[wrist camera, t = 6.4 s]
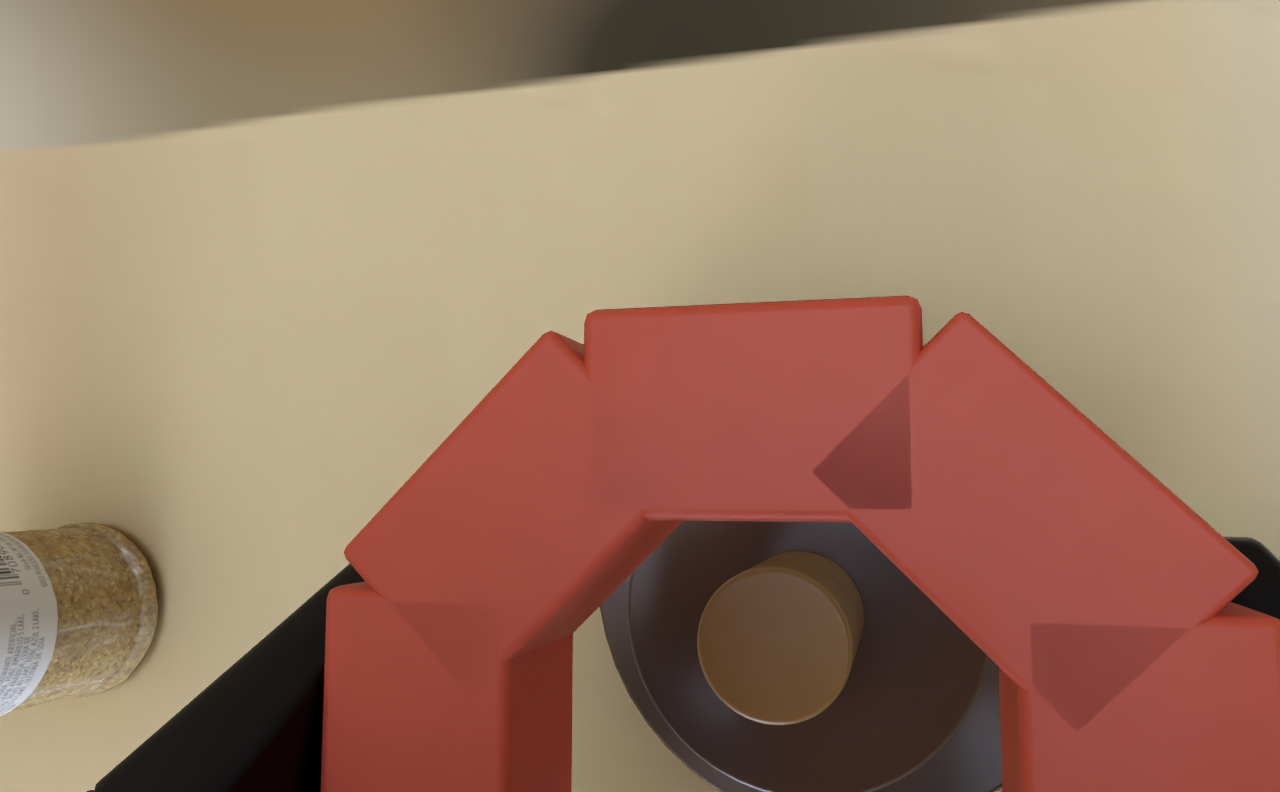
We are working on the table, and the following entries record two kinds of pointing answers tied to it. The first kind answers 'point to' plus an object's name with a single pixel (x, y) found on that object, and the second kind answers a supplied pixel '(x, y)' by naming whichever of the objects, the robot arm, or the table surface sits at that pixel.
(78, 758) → the table surface
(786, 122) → the table surface
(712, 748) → the ring stand
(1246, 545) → the robot arm
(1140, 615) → the ring
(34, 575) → the sprinkles bottle
